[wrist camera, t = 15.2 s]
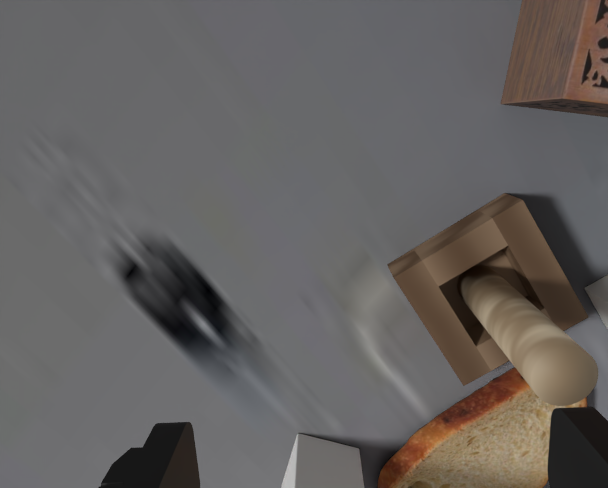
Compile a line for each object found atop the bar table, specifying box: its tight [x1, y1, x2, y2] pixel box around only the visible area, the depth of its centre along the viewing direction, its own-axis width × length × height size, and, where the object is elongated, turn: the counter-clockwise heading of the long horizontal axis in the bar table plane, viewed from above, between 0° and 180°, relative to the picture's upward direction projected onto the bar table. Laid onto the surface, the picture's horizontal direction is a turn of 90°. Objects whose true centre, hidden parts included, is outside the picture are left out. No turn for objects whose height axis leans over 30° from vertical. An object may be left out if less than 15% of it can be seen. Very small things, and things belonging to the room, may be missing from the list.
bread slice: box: [378, 367, 587, 488], centre depth 44 cm, size 18×18×4 cm
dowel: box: [457, 265, 598, 406], centre depth 34 cm, size 4×4×15 cm
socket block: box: [388, 193, 588, 386], centre depth 40 cm, size 11×11×4 cm
